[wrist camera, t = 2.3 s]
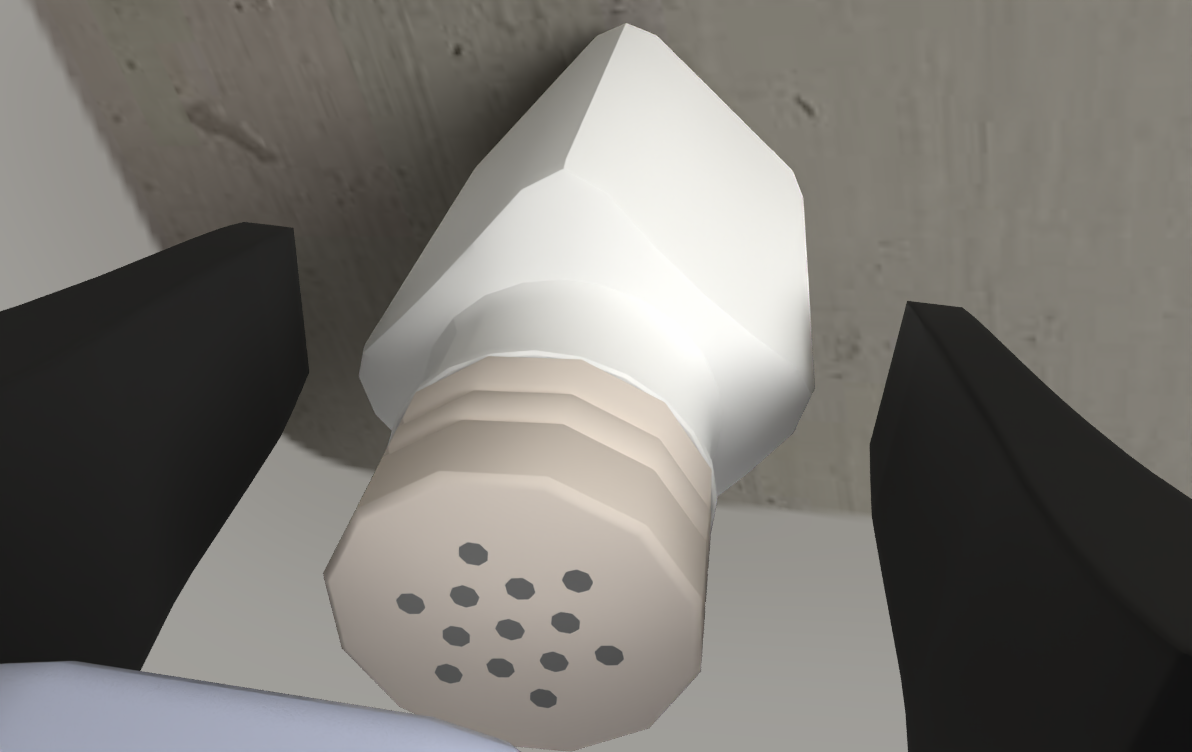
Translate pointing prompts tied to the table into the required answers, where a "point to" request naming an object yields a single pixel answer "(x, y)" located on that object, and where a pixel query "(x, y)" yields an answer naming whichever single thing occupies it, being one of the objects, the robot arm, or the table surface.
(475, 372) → the salt shaker
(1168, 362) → the table surface
